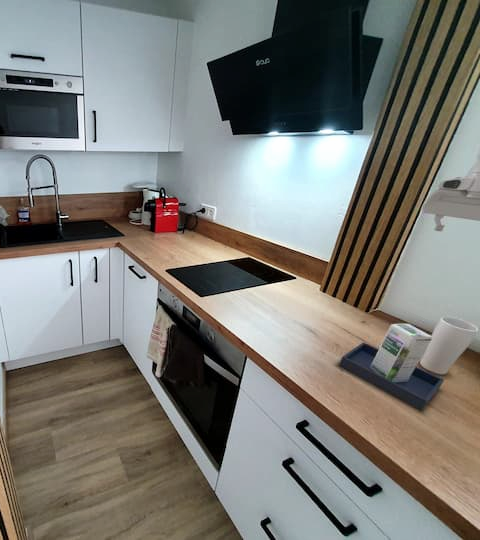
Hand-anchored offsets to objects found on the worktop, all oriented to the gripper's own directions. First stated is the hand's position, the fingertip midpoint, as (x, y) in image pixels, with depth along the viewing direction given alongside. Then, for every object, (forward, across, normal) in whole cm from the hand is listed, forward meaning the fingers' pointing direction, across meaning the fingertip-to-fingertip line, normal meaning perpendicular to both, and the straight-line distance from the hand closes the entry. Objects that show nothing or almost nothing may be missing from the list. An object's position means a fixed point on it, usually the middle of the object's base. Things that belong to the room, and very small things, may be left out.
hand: (460, 234), depth 81 cm
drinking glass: (+34, -10, +16) cm, 39 cm away
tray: (+34, -4, +32) cm, 47 cm away
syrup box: (+34, -4, +32) cm, 47 cm away
